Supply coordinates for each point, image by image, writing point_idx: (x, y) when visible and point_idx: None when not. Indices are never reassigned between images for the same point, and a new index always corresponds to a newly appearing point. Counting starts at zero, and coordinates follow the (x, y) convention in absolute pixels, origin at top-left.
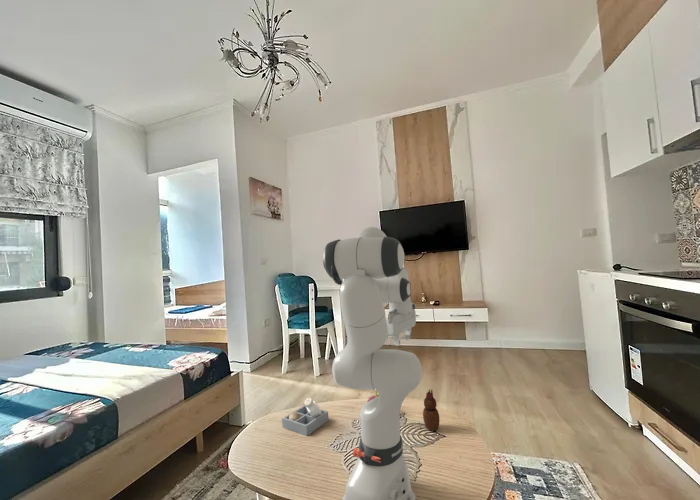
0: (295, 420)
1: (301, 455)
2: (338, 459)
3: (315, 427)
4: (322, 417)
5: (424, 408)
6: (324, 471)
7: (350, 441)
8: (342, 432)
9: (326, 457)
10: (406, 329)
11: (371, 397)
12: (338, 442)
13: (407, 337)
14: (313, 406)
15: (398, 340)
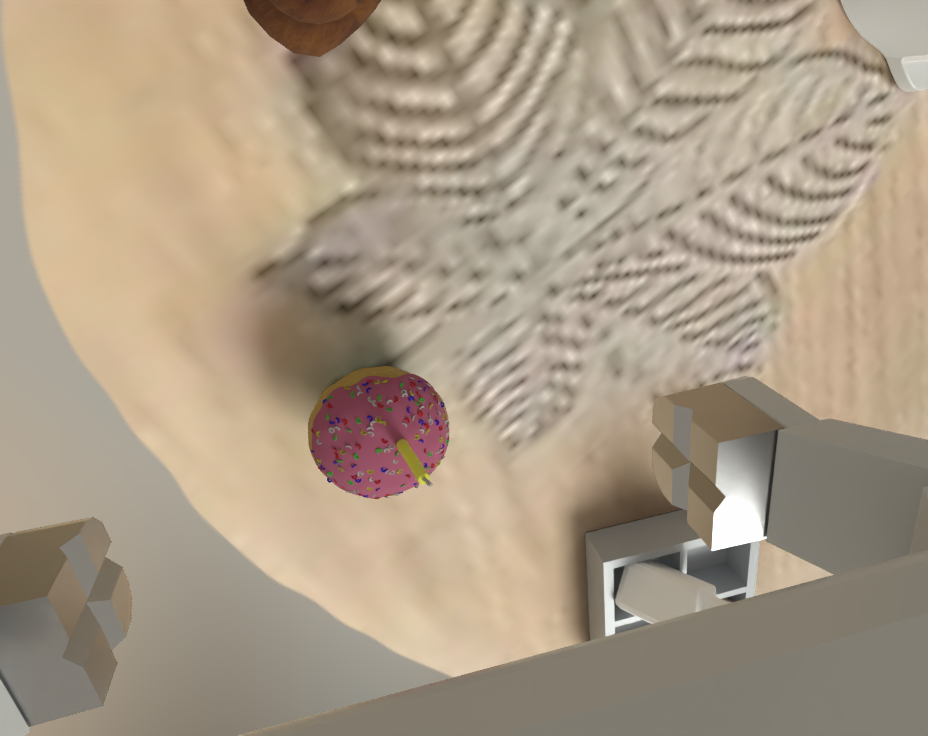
0: (727, 599)
1: (851, 400)
2: (822, 258)
3: (683, 516)
4: (643, 544)
5: (328, 27)
6: (906, 245)
7: (687, 316)
8: (641, 403)
9: (828, 310)
10: (357, 726)
11: (410, 476)
12: (718, 354)
13: (78, 591)
14: (713, 600)
15: (822, 430)
